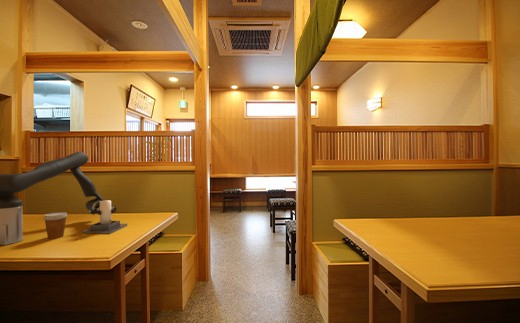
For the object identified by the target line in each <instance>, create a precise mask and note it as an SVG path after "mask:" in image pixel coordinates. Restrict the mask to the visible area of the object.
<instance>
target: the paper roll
mask: <svg viewBox="0 0 520 323" xmlns="http://www.w3.org/2000/svg"><path fill="white" fill-rule="evenodd" d="M111 208H112V200H106V199H104V201H100V211H101V215H99V222H100V225H109V224H111V221H112V213H111Z"/></svg>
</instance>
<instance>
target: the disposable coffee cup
mask: <svg viewBox="0 0 520 323" xmlns="http://www.w3.org/2000/svg"><path fill="white" fill-rule="evenodd" d="M67 217H68V213H67V212H65V211H64V212H63V211H61V212H60V211H59V212H51V213H47V214H46V213H45V214H44V217H43V219H44V224H45V230H46V235H47V239H49V240H54V239H60V238H62V237H65V236H64V235H65V230H66V222H67Z"/></svg>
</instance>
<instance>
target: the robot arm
mask: <svg viewBox="0 0 520 323" xmlns="http://www.w3.org/2000/svg"><path fill="white" fill-rule="evenodd" d="M88 161H89V155H87V154H86V153H85V152H82V151H76V152H73V153H70V154H69V155H67V156H66V157H61V158H56V159H52V160H48V161H45V162H42V163H40V164H37V165H36V166H35V167H34V168H33V169H32V170H30V171H25V172H23V173H5V174H4V173H2V174H0V246H7V245H12V244H15V243H19V242H21V241H23V240H24V238H23V236H24V234H23V232H24V231H23V229H24V228H23V225H24V224H23V222H24V221H23V218H24V217H23V213H24V212H23V208H24V207H23V200H22V199H20V198H18V197H17V196H16V195H15V194H18V193H21V192H23V191H25V190H27V189H29V188H31V187H32V186H34V185H36V184H39V183H41V182H45V181H47V180H49V179H52V178H55V177H58V176H59V175H61V174H64V173H65V172H66V173H67V171H69V170H70V172H71V174H72V175H73V176H74V178H75V179H76V181H77V182H78V184H79V187H80V188H81V191H82V193H83V195H84V197H85V198H92V197H94V199H90V200H88V201H87V202H85V208H86V210H88V213H89V214H90V215H93V216H94V215H99V216H100V215H101V211H100V201H105V199H104V198H103V197H102V196H101V195H100V194H99V192H98V191H97V189H96V186H95V185H94V182H93V181H92V180H91V178H90V177H88V176H86V174H85V173H83V171H82V170H81V167H82V166H85V165H86V164H87V163H88ZM115 212H117V206H116V205H113V206H111V214H114V213H115Z"/></svg>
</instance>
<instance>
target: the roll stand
mask: <svg viewBox="0 0 520 323" xmlns="http://www.w3.org/2000/svg"><path fill="white" fill-rule="evenodd" d="M127 226H128V223H121V220H111V224H109V225H100V221H97V222H96V223H94V224H93V223H92V224H90V227H89V228H87V229H84V230H82V231H81V234H82V233H97V235H98V234H100V235H103V234H104V235H107V234H109V235H111V234H113V233H115V232H117V231H120V230H122V229H124V228H125V227H127Z"/></svg>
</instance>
